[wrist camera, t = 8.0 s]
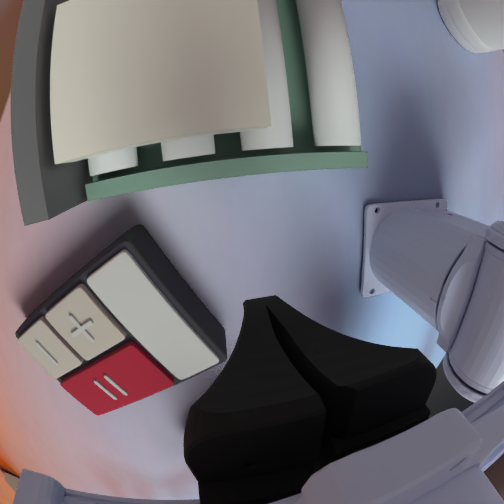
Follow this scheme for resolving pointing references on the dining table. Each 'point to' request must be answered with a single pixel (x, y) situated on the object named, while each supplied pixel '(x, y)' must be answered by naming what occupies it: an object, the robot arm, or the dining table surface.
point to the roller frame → (202, 147)
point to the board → (154, 73)
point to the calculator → (123, 327)
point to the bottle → (475, 23)
